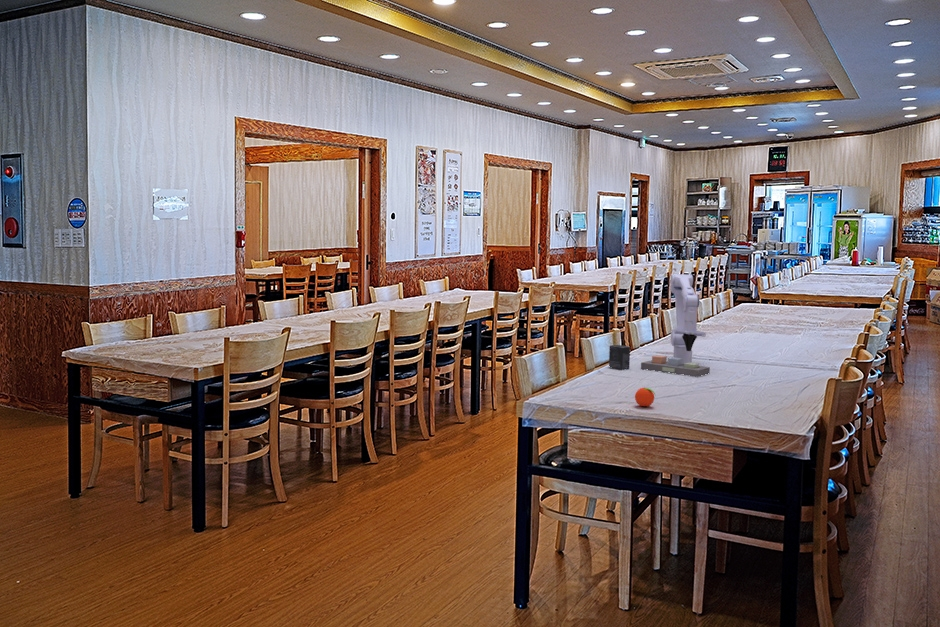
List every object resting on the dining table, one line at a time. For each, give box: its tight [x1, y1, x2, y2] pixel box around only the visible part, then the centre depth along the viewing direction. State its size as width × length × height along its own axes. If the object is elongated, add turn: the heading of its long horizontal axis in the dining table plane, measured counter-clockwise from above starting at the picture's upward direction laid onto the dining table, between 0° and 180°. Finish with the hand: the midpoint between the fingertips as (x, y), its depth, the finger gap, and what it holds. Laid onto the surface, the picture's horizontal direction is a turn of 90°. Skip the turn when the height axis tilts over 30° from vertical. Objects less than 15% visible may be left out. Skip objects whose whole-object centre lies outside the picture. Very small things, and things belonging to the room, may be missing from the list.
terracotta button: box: [651, 354, 668, 364], centre depth 382 cm, size 5×5×4 cm
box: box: [608, 344, 631, 371], centre depth 382 cm, size 8×6×11 cm
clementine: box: [634, 387, 657, 407], centre depth 300 cm, size 8×7×7 cm
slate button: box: [667, 356, 683, 366], centre depth 377 cm, size 5×5×4 cm
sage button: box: [684, 362, 700, 369], centre depth 372 cm, size 5×5×4 cm
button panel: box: [640, 359, 711, 377], centre depth 377 cm, size 12×28×3 cm, turn 49°
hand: (688, 350), depth 378 cm, fingers closed
